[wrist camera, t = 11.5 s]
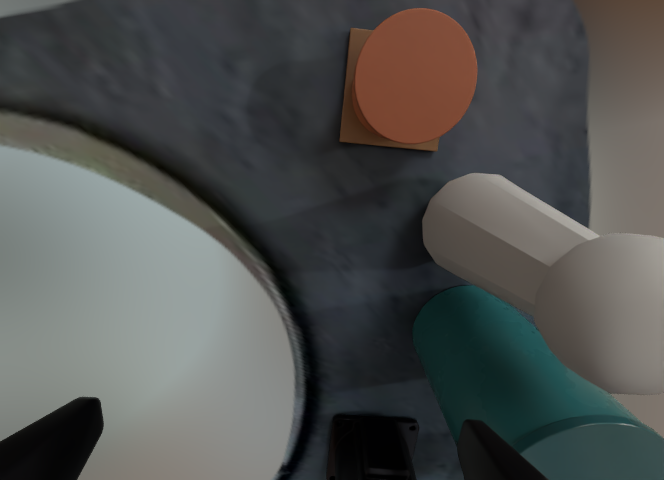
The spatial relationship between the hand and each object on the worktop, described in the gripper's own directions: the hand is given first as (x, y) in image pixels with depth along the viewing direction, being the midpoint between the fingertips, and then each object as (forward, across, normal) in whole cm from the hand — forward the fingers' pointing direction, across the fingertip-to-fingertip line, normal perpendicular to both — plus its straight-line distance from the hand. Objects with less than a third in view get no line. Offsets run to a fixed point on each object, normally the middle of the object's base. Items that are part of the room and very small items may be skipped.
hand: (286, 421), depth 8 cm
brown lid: (+13, -4, -10) cm, 16 cm away
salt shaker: (+13, -9, -3) cm, 16 cm away
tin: (+13, -11, +5) cm, 18 cm away
